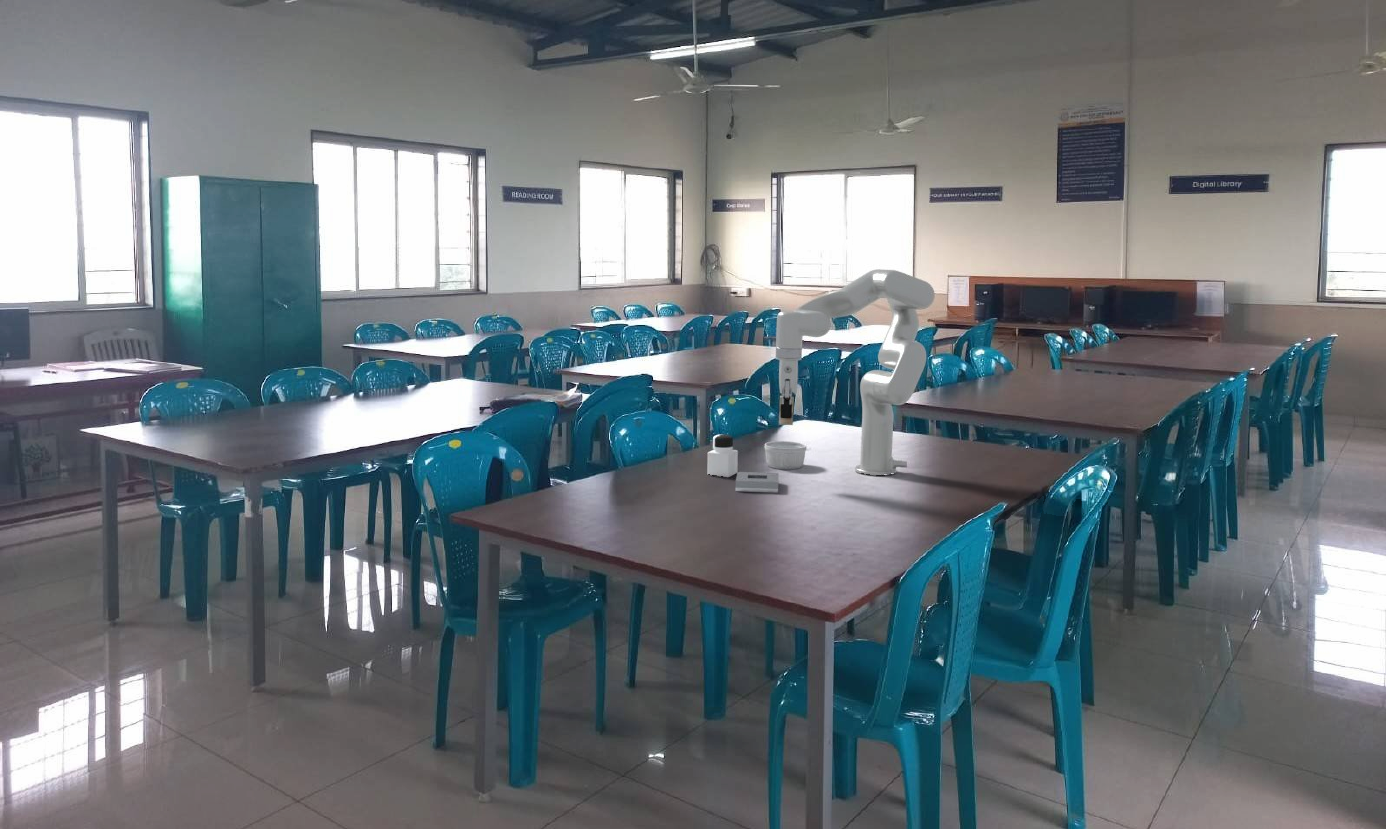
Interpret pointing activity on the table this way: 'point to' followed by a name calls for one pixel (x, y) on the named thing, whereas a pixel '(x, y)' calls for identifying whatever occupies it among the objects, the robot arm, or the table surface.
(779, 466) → the ramekin
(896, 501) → the table surface
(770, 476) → the plate
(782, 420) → the beige upright block
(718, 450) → the medicine bottle
